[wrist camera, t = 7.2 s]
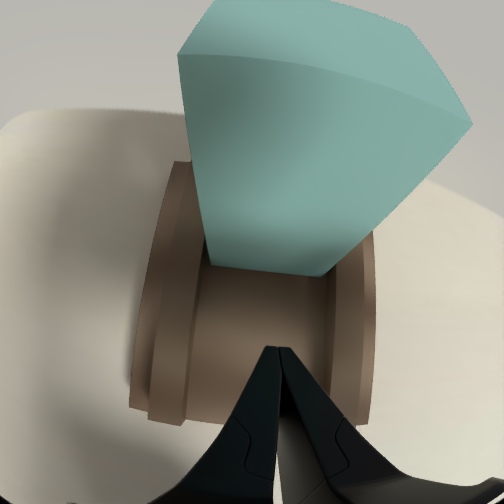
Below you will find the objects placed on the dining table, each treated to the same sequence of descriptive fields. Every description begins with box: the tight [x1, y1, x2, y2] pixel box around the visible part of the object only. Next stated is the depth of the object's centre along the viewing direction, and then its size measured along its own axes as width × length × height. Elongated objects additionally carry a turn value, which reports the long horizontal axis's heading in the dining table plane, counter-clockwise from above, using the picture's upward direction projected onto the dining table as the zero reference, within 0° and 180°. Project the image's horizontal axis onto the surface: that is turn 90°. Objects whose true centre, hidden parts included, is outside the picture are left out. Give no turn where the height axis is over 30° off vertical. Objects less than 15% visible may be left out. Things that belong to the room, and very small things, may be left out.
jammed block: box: [177, 0, 473, 277], centre depth 10 cm, size 5×6×12 cm
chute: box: [129, 159, 376, 428], centre depth 14 cm, size 15×13×5 cm
